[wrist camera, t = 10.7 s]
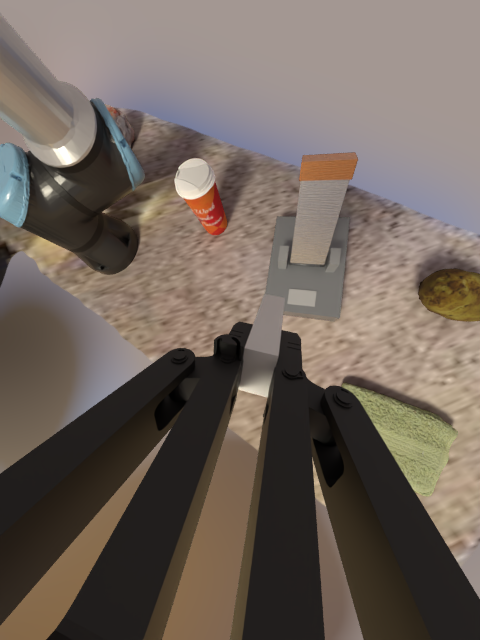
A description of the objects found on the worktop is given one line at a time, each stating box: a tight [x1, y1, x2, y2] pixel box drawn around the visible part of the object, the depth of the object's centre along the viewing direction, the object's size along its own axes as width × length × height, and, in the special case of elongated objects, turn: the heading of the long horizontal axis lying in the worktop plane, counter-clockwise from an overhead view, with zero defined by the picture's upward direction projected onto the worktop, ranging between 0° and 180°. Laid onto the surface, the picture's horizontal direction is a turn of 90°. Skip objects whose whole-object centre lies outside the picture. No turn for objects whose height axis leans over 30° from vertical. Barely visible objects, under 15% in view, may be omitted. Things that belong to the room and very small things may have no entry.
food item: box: [105, 104, 135, 148], centre depth 54 cm, size 14×8×10 cm, turn 157°
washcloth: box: [342, 382, 458, 497], centre depth 33 cm, size 13×18×3 cm
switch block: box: [265, 216, 350, 321], centre depth 37 cm, size 20×14×7 cm
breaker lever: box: [289, 152, 358, 268], centre depth 30 cm, size 3×6×16 cm, turn 81°
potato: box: [418, 268, 480, 321], centre depth 31 cm, size 8×13×8 cm, turn 56°
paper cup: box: [174, 158, 227, 235], centre depth 41 cm, size 8×8×14 cm
